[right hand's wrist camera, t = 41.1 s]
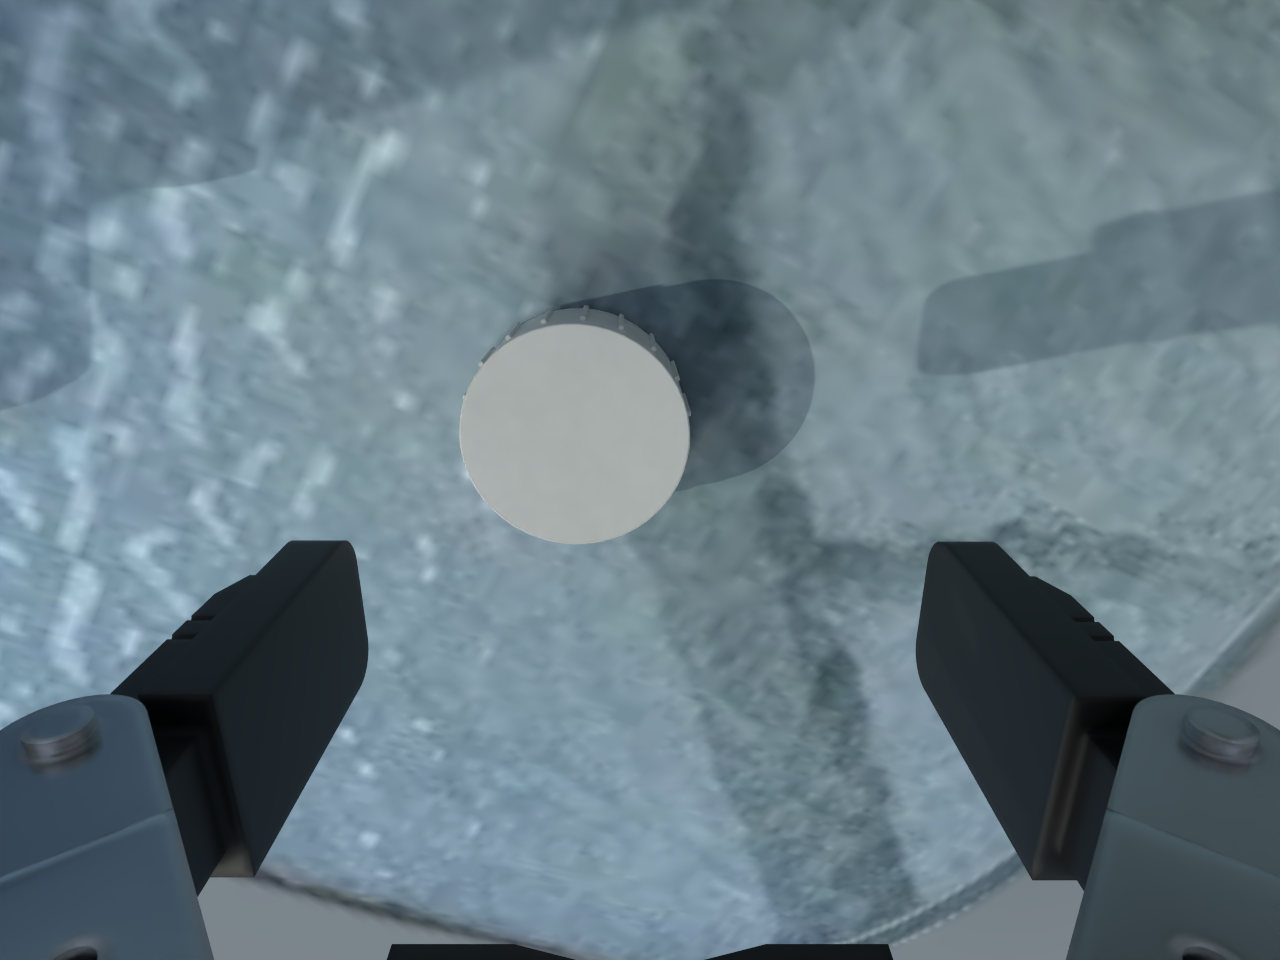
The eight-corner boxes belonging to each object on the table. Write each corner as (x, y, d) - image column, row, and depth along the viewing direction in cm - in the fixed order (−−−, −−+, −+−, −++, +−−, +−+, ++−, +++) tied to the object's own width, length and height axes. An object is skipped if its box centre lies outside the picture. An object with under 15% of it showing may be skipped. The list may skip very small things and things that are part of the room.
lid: (613, 543, 20) (611, 586, 18) (436, 441, 19) (412, 473, 17) (726, 380, 19) (740, 406, 16) (543, 261, 18) (531, 270, 15)
